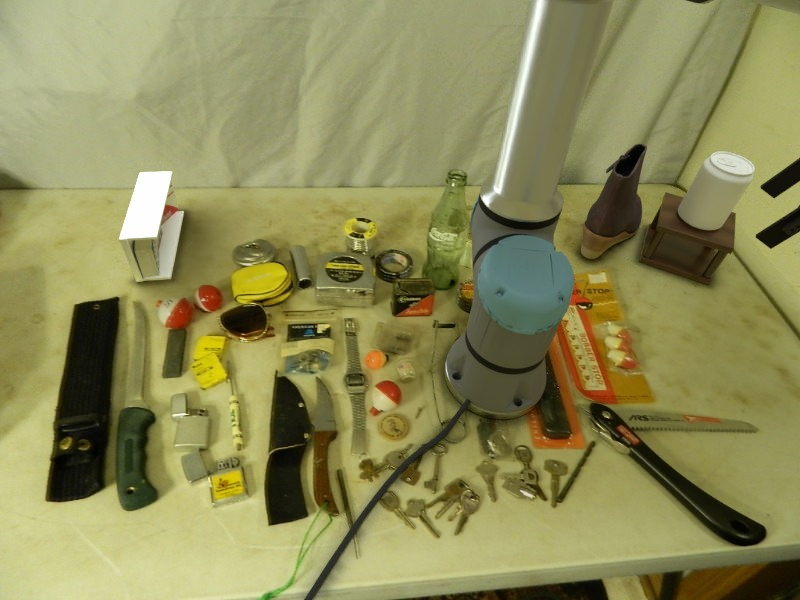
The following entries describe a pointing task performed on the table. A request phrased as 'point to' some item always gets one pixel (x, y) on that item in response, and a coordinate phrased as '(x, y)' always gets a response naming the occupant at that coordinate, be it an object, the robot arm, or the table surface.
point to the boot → (615, 205)
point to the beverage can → (716, 190)
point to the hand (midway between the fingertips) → (765, 215)
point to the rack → (685, 243)
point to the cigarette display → (152, 227)
